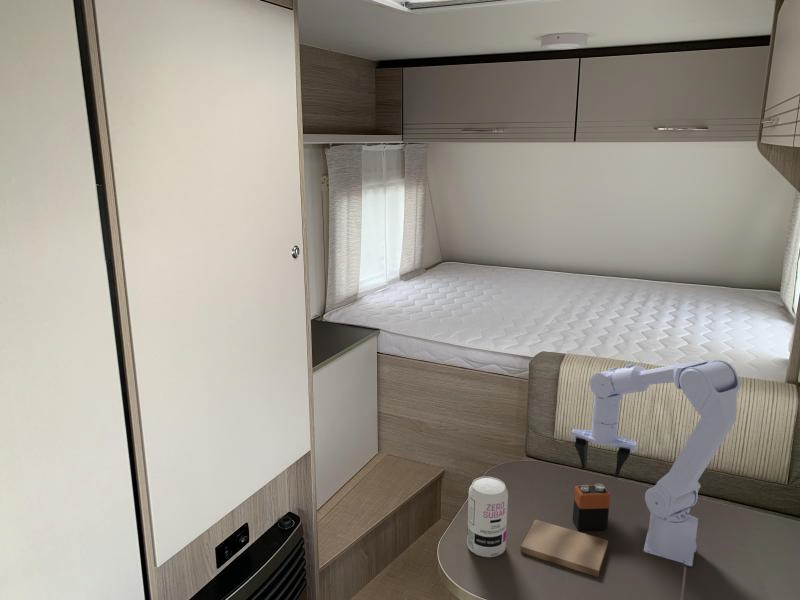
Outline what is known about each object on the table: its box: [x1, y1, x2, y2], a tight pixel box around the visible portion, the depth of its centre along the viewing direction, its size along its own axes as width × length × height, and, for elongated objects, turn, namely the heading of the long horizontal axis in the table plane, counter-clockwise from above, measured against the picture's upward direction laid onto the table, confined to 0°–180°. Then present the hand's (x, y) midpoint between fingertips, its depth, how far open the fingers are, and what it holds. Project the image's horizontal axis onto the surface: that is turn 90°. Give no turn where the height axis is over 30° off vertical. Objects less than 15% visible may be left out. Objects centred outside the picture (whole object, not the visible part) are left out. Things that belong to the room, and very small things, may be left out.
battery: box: [572, 483, 611, 531], centre depth 134 cm, size 4×7×10 cm, turn 93°
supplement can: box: [466, 476, 509, 558], centre depth 126 cm, size 8×8×15 cm
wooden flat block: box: [520, 519, 609, 578], centre depth 127 cm, size 16×11×2 cm
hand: (600, 471), depth 142 cm, fingers open, 7 cm apart
